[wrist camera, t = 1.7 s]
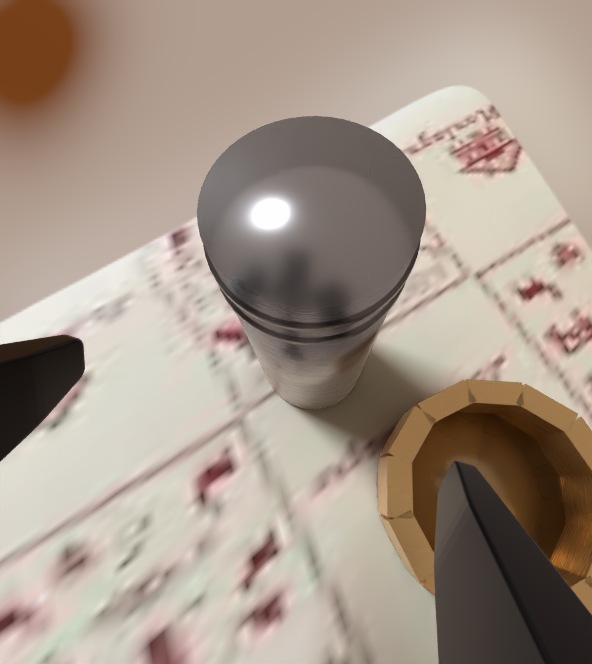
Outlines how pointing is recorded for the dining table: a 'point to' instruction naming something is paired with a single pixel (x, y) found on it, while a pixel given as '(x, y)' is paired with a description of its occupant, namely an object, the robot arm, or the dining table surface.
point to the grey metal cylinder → (312, 247)
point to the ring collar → (492, 472)
